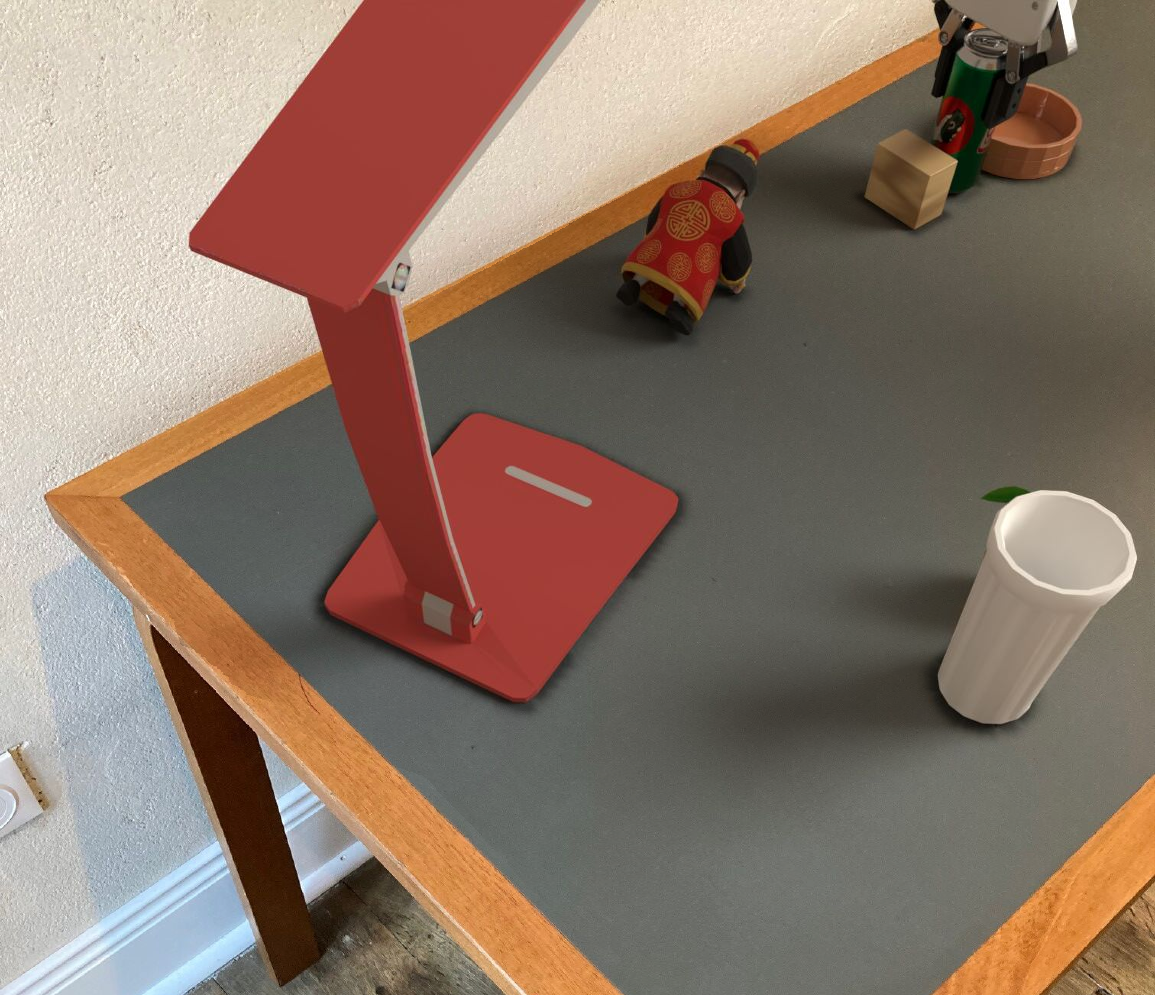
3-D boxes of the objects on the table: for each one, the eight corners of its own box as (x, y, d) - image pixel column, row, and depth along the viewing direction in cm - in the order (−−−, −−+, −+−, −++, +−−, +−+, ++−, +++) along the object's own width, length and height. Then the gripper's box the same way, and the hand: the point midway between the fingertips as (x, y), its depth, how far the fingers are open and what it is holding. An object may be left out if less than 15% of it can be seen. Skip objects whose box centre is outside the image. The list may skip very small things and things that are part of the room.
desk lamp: (748, 406, 90) (869, -242, 56) (491, 780, 73) (437, 170, 39) (547, 329, 95) (545, -319, 60) (258, 664, 77) (22, 20, 43)
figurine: (708, 368, 98) (803, 213, 98) (698, 318, 89) (803, 147, 88) (613, 317, 100) (706, 164, 100) (593, 263, 91) (696, 94, 90)
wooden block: (941, 214, 104) (958, 160, 99) (914, 230, 102) (930, 176, 98) (891, 182, 106) (905, 128, 102) (864, 197, 105) (877, 143, 100)
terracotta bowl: (1092, 151, 109) (1105, 119, 106) (1019, 193, 105) (1031, 161, 103) (1004, 100, 113) (1015, 68, 110) (931, 139, 109) (940, 107, 107)
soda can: (976, 199, 104) (1023, 61, 94) (920, 193, 105) (959, 54, 94) (976, 167, 107) (1021, 28, 97) (920, 161, 107) (959, 22, 97)
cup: (927, 628, 80) (995, 476, 67) (1047, 652, 79) (1139, 502, 67) (916, 724, 76) (987, 581, 63) (1043, 751, 75) (1139, 611, 63)
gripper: (1177, -115, 83) (1078, 137, 98) (990, -199, 89) (925, 49, 105) (1111, -84, 80) (1020, 169, 96) (924, -173, 87) (867, 78, 102)
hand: (971, 104), depth 100 cm, fingers closed on soda can, 5 cm apart
